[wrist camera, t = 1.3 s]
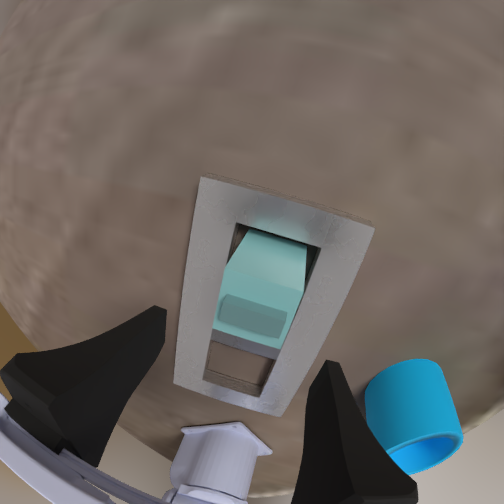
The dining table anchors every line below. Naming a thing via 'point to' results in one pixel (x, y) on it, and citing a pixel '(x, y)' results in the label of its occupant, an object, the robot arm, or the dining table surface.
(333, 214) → the panel
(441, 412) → the mug
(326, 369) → the robot arm
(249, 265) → the plug
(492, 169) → the dining table surface
